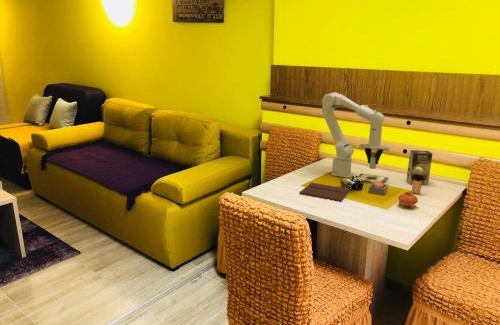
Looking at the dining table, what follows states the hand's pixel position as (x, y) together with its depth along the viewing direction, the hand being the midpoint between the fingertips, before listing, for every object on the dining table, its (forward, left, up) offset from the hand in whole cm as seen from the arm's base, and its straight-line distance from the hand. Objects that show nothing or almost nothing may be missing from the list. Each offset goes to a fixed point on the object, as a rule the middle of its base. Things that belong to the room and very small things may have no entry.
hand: (372, 163), depth 206 cm
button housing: (+7, -16, -9) cm, 20 cm away
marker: (0, 0, -2) cm, 2 cm away
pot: (+22, -28, -9) cm, 37 cm away
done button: (+7, -16, -7) cm, 19 cm away
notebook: (-14, -30, -10) cm, 34 cm away
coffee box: (+21, +7, -9) cm, 24 cm away
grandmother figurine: (+23, -9, -9) cm, 26 cm away
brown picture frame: (0, 0, -9) cm, 9 cm away
